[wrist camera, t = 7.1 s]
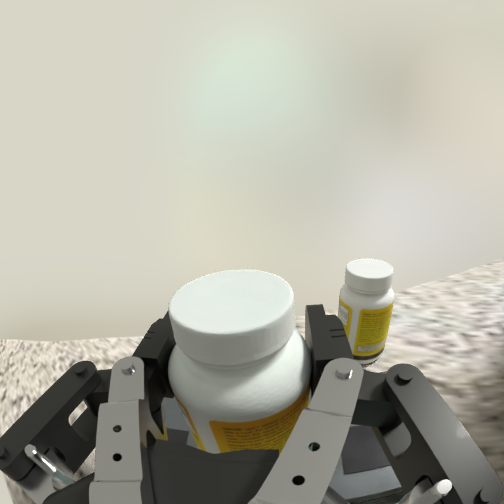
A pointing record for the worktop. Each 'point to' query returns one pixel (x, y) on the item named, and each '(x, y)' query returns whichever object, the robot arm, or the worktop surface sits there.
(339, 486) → the grey notched plate
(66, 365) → the worktop surface
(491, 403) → the worktop surface
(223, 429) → the supplement bottle
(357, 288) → the supplement bottle
